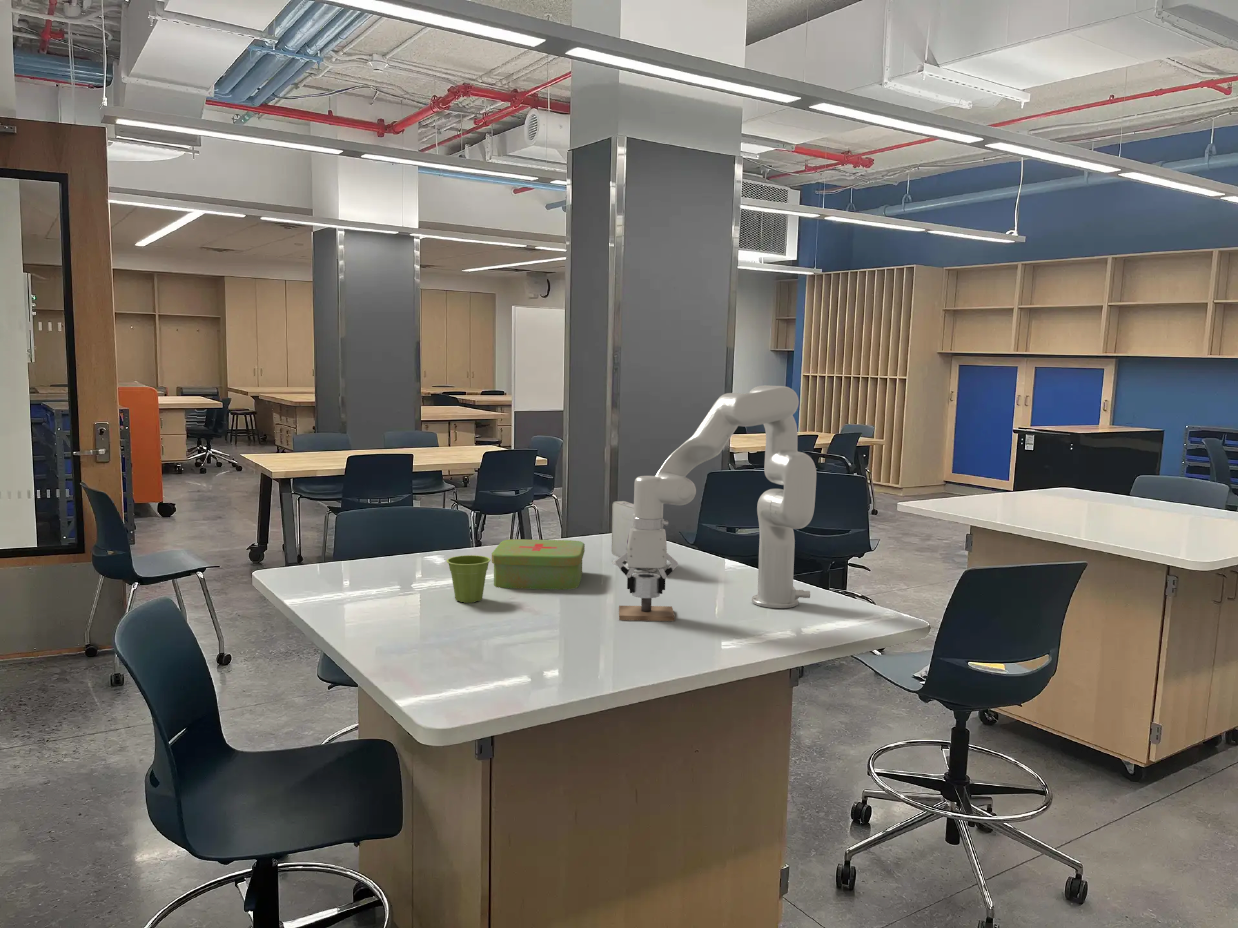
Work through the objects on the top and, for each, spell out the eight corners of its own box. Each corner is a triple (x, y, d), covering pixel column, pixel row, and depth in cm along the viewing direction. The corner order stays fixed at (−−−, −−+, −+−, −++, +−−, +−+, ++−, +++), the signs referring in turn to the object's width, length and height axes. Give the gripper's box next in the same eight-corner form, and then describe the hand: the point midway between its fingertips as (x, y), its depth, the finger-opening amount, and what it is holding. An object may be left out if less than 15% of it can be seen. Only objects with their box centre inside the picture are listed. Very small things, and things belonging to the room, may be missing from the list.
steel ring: (658, 591, 235) (659, 573, 234) (660, 598, 228) (660, 579, 227) (632, 591, 235) (632, 572, 234) (632, 597, 228) (633, 578, 227)
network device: (605, 560, 301) (606, 501, 299) (628, 558, 305) (629, 500, 303) (638, 575, 278) (640, 512, 276) (663, 573, 282) (665, 510, 280)
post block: (671, 610, 237) (672, 587, 236) (674, 620, 227) (675, 596, 226) (618, 609, 237) (619, 586, 236) (619, 620, 227) (619, 596, 226)
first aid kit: (579, 591, 258) (580, 556, 257) (489, 589, 259) (489, 554, 258) (584, 571, 284) (585, 540, 283) (502, 569, 285) (502, 538, 284)
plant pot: (441, 597, 247) (441, 557, 246) (482, 593, 252) (482, 553, 251) (453, 607, 237) (453, 565, 235) (496, 602, 242) (496, 561, 241)
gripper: (680, 522, 233) (678, 589, 235) (614, 521, 233) (612, 588, 235) (682, 527, 226) (680, 596, 227) (614, 525, 226) (612, 595, 227)
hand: (645, 591), depth 231 cm, fingers closed on steel ring, 7 cm apart
